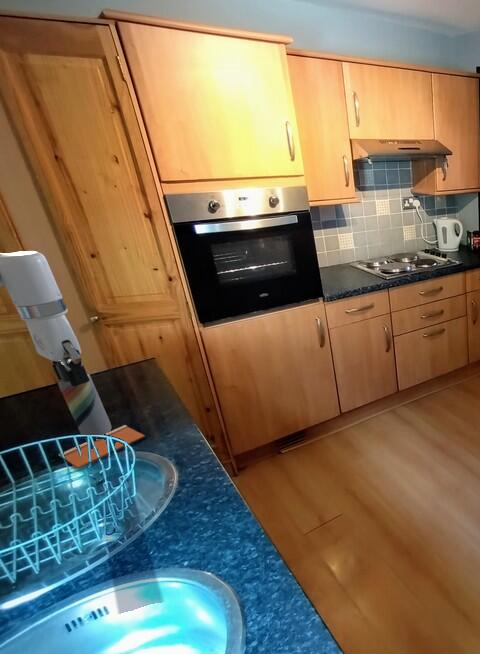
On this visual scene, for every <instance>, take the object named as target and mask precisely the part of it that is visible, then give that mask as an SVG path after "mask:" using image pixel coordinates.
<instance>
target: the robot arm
mask: <svg viewBox="0 0 480 654" xmlns="http://www.w3.org/2000/svg"><path fill="white" fill-rule="evenodd" d="M3 286H5V288H6V290H7V293H8V295H9V297H10V299H11V301H12V303H13V305H14V307H15V309H16V311H17V313H18V315H19V317H20V320H21V321H23V322H25V324H26V327H27V329H28V333H29V335H30V338H31V340H32V343H33V345H34V348H35V351H36V353H37V354H38V355H39V356H41V357H42V358H45V359H47V360H49V362H50V363H51V367H52V368H53V371H54V373H55V375H56V378H57V380H59V381H61V380H62V378H61V376H60V374H59V372H58V370H57V368H56V365H57V362H58V361H60V360H61V361H62V363H63V365H64V366H65V368H66V370H67V371H65V372H66V374H67V377H68V379H69V381H70V383H71V385H72V386H74V387H75V386H78V385H80V384H83V383H86V382H89V378H88V375H89V374H88V373H87V370H86V368H85V365H84V363H83V361H82V357H81V354H82V349H81V346H80V344H79V341H78V338H77V336H76V334H75V332H74V330H73V328H72V326H71V324H70V321H69V320H68V318H67V316H66V314H67V313H68V312H69V309H68V307H67V305H66V303H65V300H64V298H63V294H62V293H61V290H60V288H59V286H58V284H57V281H56V279H55V276H54V274H53V271H52V269H51V267H50V264H49V263H48V260H47V258H46V256H45V255H44V254H43V253H41V252H39V251H35V250H28V251H27V250H25V251H16V252H8V253H2V252H0V288H1V287H3ZM68 359H71V361H69V364H68V362H67V361H66V360H68ZM87 374H88V375H87Z"/></svg>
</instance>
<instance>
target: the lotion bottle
mask: <svg viewBox="0 0 480 654" xmlns="http://www.w3.org/2000/svg"><path fill="white" fill-rule="evenodd" d="M66 361H67V362H68V364H69V361H71V359H68V360H66ZM56 368H57V370H58V372H59V374H60V376H61V378H62V380H59V381H58V383H57V384H58V387H59V391H60V392H61V394H62V396H63V398H64V400H65V403H66V405H67V407H68V409H69V411H70V413H71V416H72V418H73V420H74V422H75V424H76V426H77V428H78V431H79V433H80V435H81V436H82V435H104V434H106V433H108V432H110V431H112V424H111V421H110V419H109V416H108V414H107V412H106V409H105V407H104V405H103V402H102V400H101V398H100V396H99V392H98V391H97V389H96V386H95V384H94V382H93V381H94V380H93V379H92V377H91V375H90V374H88V373H87V375H88V378H89V382H86V383H83V384H80V385H78V386H75V387H74V386H72V385H71V383H70V381H69V379H68V377H67V374H66V372H65V371H67V370H66V368H65V366H64V365H63V363H62V361H61V360H60V361H58V362H57V365H56ZM87 439H88V438H86V440H87ZM88 440H89V439H88Z"/></svg>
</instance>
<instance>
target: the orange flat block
mask: <svg viewBox="0 0 480 654" xmlns="http://www.w3.org/2000/svg"><path fill="white" fill-rule="evenodd" d="M106 435H110V436H114V437H117V438H120V439H122V440H124V441H126V442H127V443H128V445H131V444H132V443H134V442H135V443H136V441H139V440H142V439H143V438H145V437H146V436H145V434H143V433H141V432H139V431H137V430H135V429H133V428H131V427H128V425H126V424H124V425H122V426H119V427H118V428H115V429H113V430H112V429H111V430H110V431H109V432H108V433H106ZM87 442H88V441H86V442H83V443H80V444H78V446H80V449H81V457H80V455H79V453H78V450H77V448H76V447H77V446H75V447H72V448H70V449H67V450H66V451H63V452H64V455H65V457H66V460H67V461H66V460H65V461H66V462H68V463H69V464H71V466H74V467H76V468H77V469H80V468H83V467H85V466H86V465H89V464H90V463H89V458H88V443H87ZM94 446H95V447H96V448H97V449H98V452H99V455H100V458H99V459H101V458H104V457H105V456H108V455H109V454H108V449H107V444H106V440H104V439H96V441H94ZM124 447H125V446H124V445H123V444H121V443H119V442H116V443H115V448H116V451H118V450H121V449H123V448H124ZM60 454H61V453H59V454H58V457H60V458H61V459H63V458H62V456H61V455H60ZM99 459H98V458H97V455H96V452H95V450H94V448H93V449H91V463H93V462H96V461H97V460H99Z"/></svg>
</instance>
